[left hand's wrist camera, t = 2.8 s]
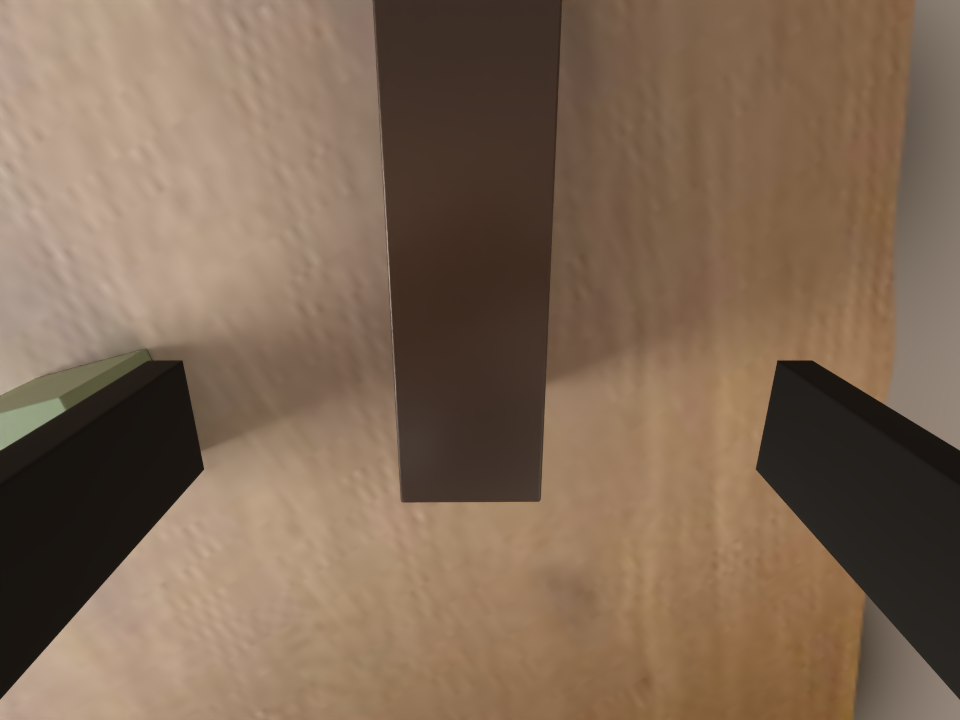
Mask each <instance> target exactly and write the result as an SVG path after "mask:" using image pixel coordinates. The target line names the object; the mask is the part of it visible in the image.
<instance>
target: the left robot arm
mask: <svg viewBox="0 0 960 720" xmlns="http://www.w3.org/2000/svg"><path fill="white" fill-rule="evenodd" d="M203 470H204V466H203V461H202V456H201V451H200V446H199V441H198V436H197V431H196V426H195V421H194V416H193V411H192V406H191V401H190V396H189V391H188V386H187V381H186V376H185V371H184V366H183V361H146V362H145V363H143V364H141V365H140V366H138V367H136V368H135V369H133V370H132V371H130V372H128V373H127V374H125V375H123V376H122V377H120V378H118V379H117V380H115V381H114V382H112V383H110V384H109V385H107V386H105V387H104V388H102V389H100V390H99V391H97V392H96V393H94V394H92V395H91V396H89V397H87V398H86V399H84V400H82V401H81V402H79V403H77V404H76V405H74V406H73V407H71V408H69V409H68V410H66V411H64V412H63V413H61V414H59V415H58V416H56V417H55V418H53V419H51V420H50V421H48V422H46V423H45V424H43V425H41V426H40V427H38V428H36V429H35V430H33V431H32V432H30V433H28V434H27V435H25V436H23V437H22V438H20V439H18V440H17V441H15V442H14V443H12V444H10V445H9V446H7V447H5V448H4V449H2V450H0V699H1V698H2V697H3V696H4V695H5V694H6V692H7V691H8V690H9V689H10V688H11V687H12V686H13V685H14V683H15V682H16V681H17V680H18V679H19V678H20V677H21V675H22V674H23V673H24V672H25V671H26V670H27V669H28V668H29V666H30V665H31V664H32V663H33V662H34V661H35V660H36V659H37V657H38V656H39V655H40V654H41V653H42V652H43V651H44V650H45V648H46V647H47V646H48V645H49V644H50V643H51V642H52V640H53V639H54V638H55V637H56V636H57V635H58V634H59V633H60V631H61V630H62V629H63V628H64V627H65V626H66V625H67V624H68V622H69V621H70V620H71V619H72V618H73V617H74V616H75V615H76V613H77V612H78V611H79V610H80V609H81V608H82V607H83V606H84V604H85V603H86V602H87V601H88V600H89V599H90V598H91V596H92V595H93V594H94V593H95V592H96V591H97V590H98V589H99V587H100V586H101V585H102V584H103V583H104V582H105V581H106V580H107V578H108V577H109V576H110V575H111V574H112V573H113V572H114V571H115V569H116V568H117V567H118V566H119V565H120V564H121V563H122V561H123V560H124V559H125V558H126V557H127V556H128V555H129V554H130V552H131V551H132V550H133V549H134V548H135V547H136V546H137V545H138V543H139V542H140V541H141V540H142V539H143V538H144V537H145V536H146V534H147V533H148V532H149V531H150V530H151V529H152V528H153V526H154V525H155V524H156V523H157V522H158V521H159V520H160V519H161V517H162V516H163V515H164V514H165V513H166V512H167V511H168V510H169V508H170V507H171V506H172V505H173V504H174V503H175V502H176V501H177V499H178V498H179V497H180V496H181V495H182V494H183V493H184V491H185V490H186V489H187V488H188V487H189V486H190V485H191V484H192V482H193V481H194V480H195V479H196V478H197V477H198V476H199V475H200V473H201V472H202V471H203ZM756 470H757V471H758V472H759V473H760V475H761V476H762V477H763V478H764V479H765V480H766V481H767V482H768V484H769V485H770V486H771V487H772V488H773V489H774V490H775V491H776V493H777V494H778V495H779V496H780V497H781V498H782V499H783V501H784V502H785V503H786V504H787V505H788V506H789V507H790V508H791V510H792V511H793V512H794V513H795V514H796V515H797V516H798V517H799V519H800V520H801V521H802V522H803V523H804V524H805V525H806V526H807V528H808V529H809V530H810V531H811V532H812V533H813V534H814V536H815V537H816V538H817V539H818V540H819V541H820V542H821V543H822V545H823V546H824V547H825V548H826V549H827V550H828V551H829V552H830V554H831V555H832V556H833V557H834V558H835V559H836V560H837V561H838V563H839V564H840V565H841V566H842V567H843V568H844V569H845V571H846V572H847V573H848V574H849V575H850V576H851V577H852V578H853V580H854V581H855V582H856V583H857V584H858V585H859V586H860V587H861V589H862V590H863V591H864V592H865V593H866V594H867V595H868V596H869V598H870V599H871V600H872V601H873V602H874V603H875V604H876V605H877V607H878V608H879V609H880V610H881V611H882V612H883V613H884V615H885V616H886V617H887V618H888V619H889V620H890V621H891V622H892V624H893V625H894V626H895V627H896V628H897V629H898V630H899V631H900V633H901V634H902V635H903V636H904V637H905V638H906V639H907V640H908V642H909V643H910V644H911V645H912V646H913V647H914V648H915V650H916V651H917V652H918V653H919V654H920V655H921V656H922V657H923V659H924V660H925V661H926V662H927V663H928V664H929V665H930V666H931V668H932V669H933V670H934V671H935V672H936V673H937V674H938V675H939V677H940V678H941V679H942V680H943V681H944V682H945V683H946V685H947V686H948V687H949V688H950V689H951V690H952V691H953V692H954V694H955V695H956V696H957V697H958V698H959V699H960V450H958V449H956V448H955V447H953V446H951V445H950V444H948V443H946V442H945V441H943V440H941V439H940V438H938V437H937V436H935V435H933V434H932V433H930V432H928V431H927V430H925V429H923V428H922V427H920V426H919V425H917V424H915V423H914V422H912V421H910V420H909V419H907V418H905V417H904V416H902V415H900V414H899V413H897V412H896V411H894V410H892V409H891V408H889V407H887V406H886V405H884V404H883V403H881V402H879V401H878V400H876V399H874V398H873V397H871V396H869V395H868V394H866V393H864V392H863V391H861V390H860V389H858V388H856V387H855V386H853V385H851V384H850V383H848V382H846V381H845V380H843V379H842V378H840V377H838V376H837V375H835V374H833V373H832V372H830V371H828V370H827V369H825V368H824V367H822V366H820V365H819V364H817V363H815V362H814V361H777V366H776V371H775V376H774V381H773V386H772V391H771V396H770V401H769V406H768V411H767V416H766V421H765V426H764V431H763V436H762V441H761V446H760V451H759V456H758V461H757V466H756Z"/></svg>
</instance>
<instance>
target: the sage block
mask: <svg viewBox="0 0 960 720" xmlns="http://www.w3.org/2000/svg"><path fill="white" fill-rule="evenodd" d="M146 361H152V360H151V358H150V356H149V354H148V352H147V350H146V349H142V350H138V351H135V352H131V353H127V354H124V355H120V356H116V357H113V358H109V359H105V360H101V361H98V362H94V363H90V364H87V365H83V366H79V367H76V368H72V369H68V370H65V371H61V372H57V373H53V374H50V375H46V376H42V377H39V378H35V379H33V380H31V381H29V382H27V383H25V384H23V385H21V386H19V387H17V388H15V389H13V390H11V391H9V392H7V393H5V394H3V395H1V396H0V450H2V449H4V448H5V447H7V446H9V445H10V444H12V443H14V442H15V441H17V440H18V439H20V438H22V437H23V436H25V435H27V434H28V433H30V432H32V431H33V430H35V429H36V428H38V427H40V426H41V425H43V424H45V423H46V422H48V421H50V420H51V419H53V418H55V417H56V416H58V415H59V414H61V413H63V412H64V411H66V410H68V409H69V408H71V407H73V406H74V405H76V404H77V403H79V402H81V401H82V400H84V399H86V398H87V397H89V396H91V395H92V394H94V393H96V392H97V391H99V390H100V389H102V388H104V387H105V386H107V385H109V384H110V383H112V382H114V381H115V380H117V379H118V378H120V377H122V376H123V375H125V374H127V373H128V372H130V371H132V370H133V369H135V368H136V367H138V366H140V365H141V364H143V363H145V362H146Z"/></svg>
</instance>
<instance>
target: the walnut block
mask: <svg viewBox="0 0 960 720" xmlns="http://www.w3.org/2000/svg"><path fill="white" fill-rule="evenodd" d="M373 13H374V31H375V49H376V67H377V85H378V103H379V120H380V138H381V156H382V174H383V192H384V210H385V227H386V245H387V263H388V281H389V299H390V317H391V334H392V352H393V370H394V388H395V406H396V423H397V441H398V459H399V477H400V495H401V502H539V501H540V500H541V480H542V457H543V433H544V410H545V387H546V363H547V340H548V317H549V293H550V270H551V247H552V223H553V200H554V177H555V153H556V130H557V107H558V83H559V60H560V37H561V13H562V0H373Z"/></svg>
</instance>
